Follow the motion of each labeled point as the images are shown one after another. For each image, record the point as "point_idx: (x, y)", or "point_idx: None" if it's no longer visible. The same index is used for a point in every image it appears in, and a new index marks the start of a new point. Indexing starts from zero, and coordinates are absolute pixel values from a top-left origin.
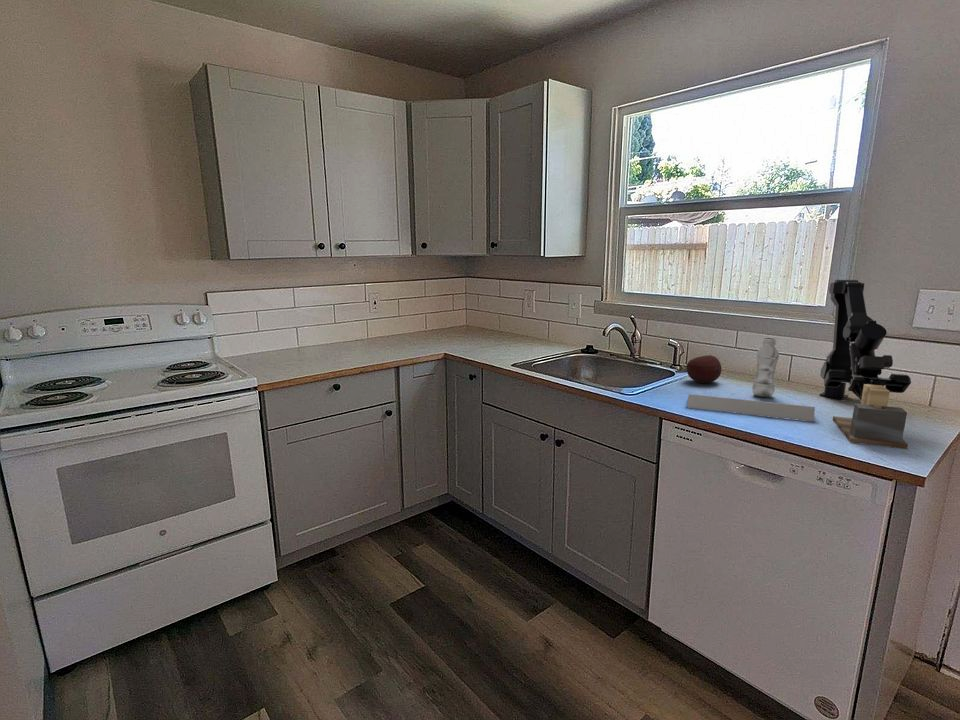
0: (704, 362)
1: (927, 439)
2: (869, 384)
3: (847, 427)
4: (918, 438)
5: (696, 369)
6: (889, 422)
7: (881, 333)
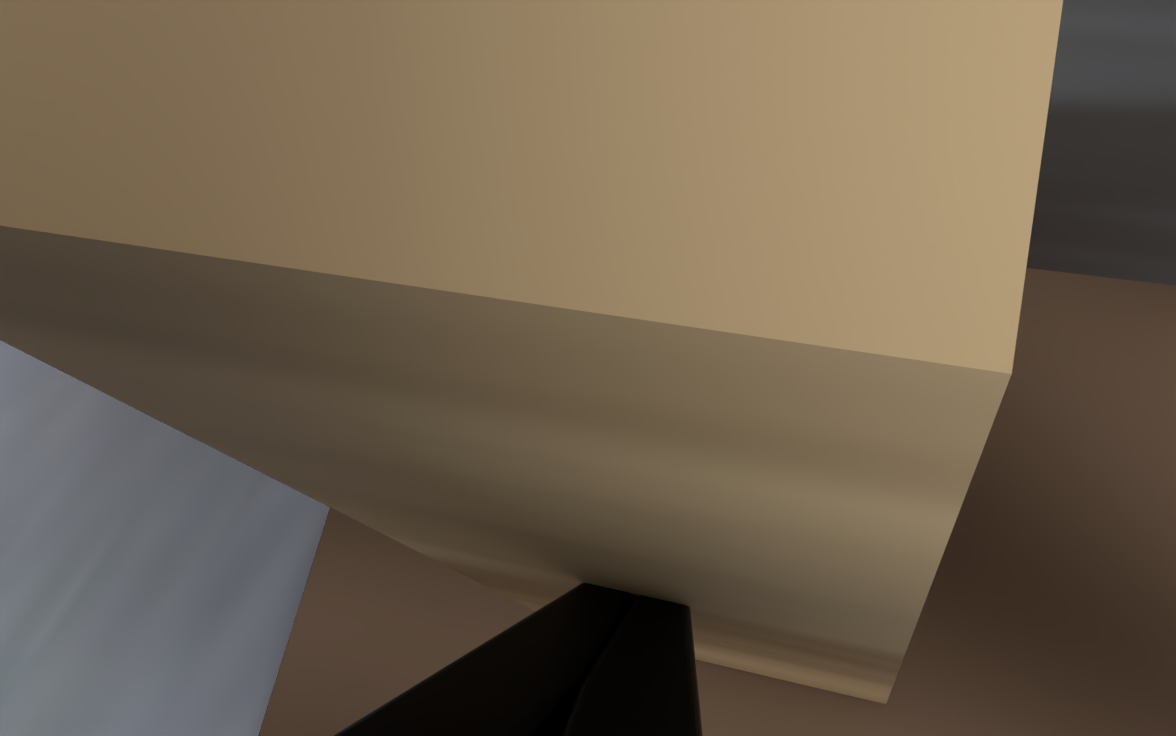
0: None
1: (3, 427)
2: (489, 288)
3: (1142, 584)
4: (91, 447)
5: None
6: None
7: None
